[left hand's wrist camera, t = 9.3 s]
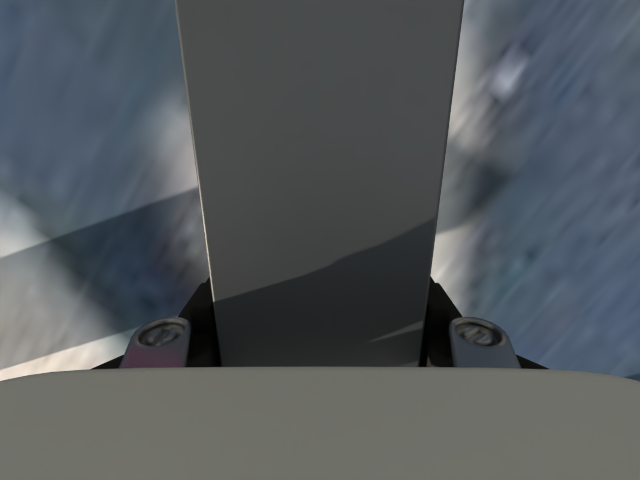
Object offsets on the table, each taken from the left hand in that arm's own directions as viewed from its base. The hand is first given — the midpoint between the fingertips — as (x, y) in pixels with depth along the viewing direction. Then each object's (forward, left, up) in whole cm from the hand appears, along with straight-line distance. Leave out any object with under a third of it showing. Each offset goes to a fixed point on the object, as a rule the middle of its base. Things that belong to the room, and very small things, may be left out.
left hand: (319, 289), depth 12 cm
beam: (-3, +32, -2) cm, 32 cm away
